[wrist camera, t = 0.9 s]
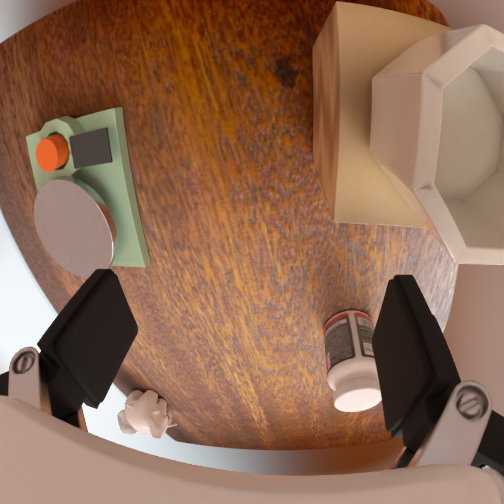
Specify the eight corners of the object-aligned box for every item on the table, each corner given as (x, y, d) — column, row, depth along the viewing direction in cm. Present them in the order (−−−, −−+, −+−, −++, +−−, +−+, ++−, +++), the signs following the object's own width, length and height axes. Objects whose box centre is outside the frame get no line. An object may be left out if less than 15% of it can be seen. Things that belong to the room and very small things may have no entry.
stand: (312, 47, 17) (335, 0, 7) (421, 64, 15) (518, 60, 5) (312, 157, 21) (332, 222, 11) (415, 166, 20) (495, 234, 10)
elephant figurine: (156, 413, 52) (145, 447, 44) (119, 382, 46) (102, 419, 39) (190, 414, 48) (180, 452, 41) (152, 381, 43) (135, 423, 36)
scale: (33, 128, 22) (14, 135, 19) (122, 100, 20) (102, 103, 18) (66, 255, 31) (53, 268, 28) (150, 260, 29) (139, 277, 26)
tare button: (45, 137, 20) (33, 142, 18) (66, 130, 19) (53, 135, 18) (51, 168, 21) (39, 174, 20) (72, 163, 21) (60, 169, 20)
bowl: (367, 29, 7) (416, -5, 3) (504, 73, 6) (575, 86, 2) (361, 199, 11) (396, 263, 7) (487, 212, 10) (541, 266, 6)
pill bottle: (324, 344, 32) (327, 417, 24) (322, 311, 30) (326, 390, 21) (370, 338, 31) (383, 409, 23) (373, 304, 28) (392, 381, 20)
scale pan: (22, 151, 20) (16, 154, 19) (107, 127, 19) (100, 129, 18) (58, 269, 28) (53, 274, 27) (140, 277, 26) (136, 283, 25)
